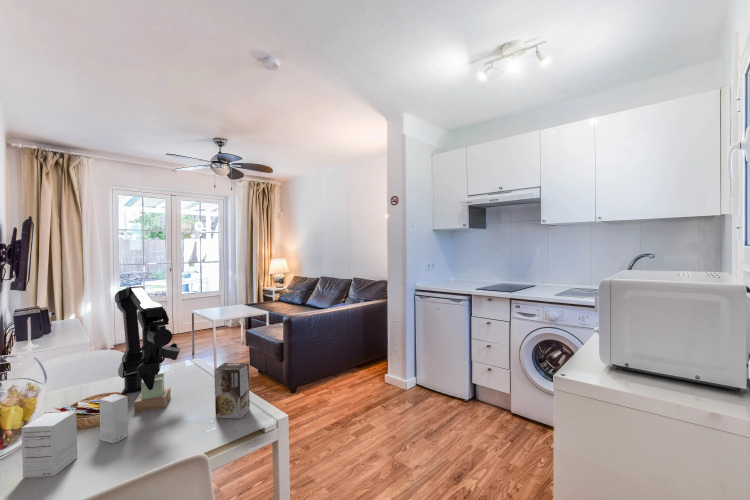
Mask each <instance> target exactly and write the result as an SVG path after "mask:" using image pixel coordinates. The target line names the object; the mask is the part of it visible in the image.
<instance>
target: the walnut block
mask: <svg viewBox="0 0 750 500" xmlns="http://www.w3.org/2000/svg"><path fill="white" fill-rule="evenodd" d="M171 392H172V391H171V387H164V392H163V395H162V396H160V397H154V398H149V399H143V400H142V397H141V392H140V393H139V395H138V396H137V398H136V399H135V400H134V402H133V408H134V409H133V411H134V412H133V413H141V412H147V411H148V412H149V411H152V410H158V409H159V410H160V409H165V408H166V407H167V405H168V403H169V401H170V400H171Z"/></svg>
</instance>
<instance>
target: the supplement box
mask: <svg viewBox="0 0 750 500" xmlns="http://www.w3.org/2000/svg"><path fill="white" fill-rule="evenodd" d="M21 455H22V460H21V461H22V478H23V479H31V478H46V477H55V476H56V475H58V474H59V473H60V472H61V471H62V470H63V469H65V468H66V467H68V466H69V465H70V464H72V463H73V462H74V461H75V460H76V459H78V429H77V411H58V412H47V413H45V414H43V415H42V416H40V417H38V418H37V419H34V420H33V421H31V422H29V423H27V424H26V425H24V426H21Z"/></svg>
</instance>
